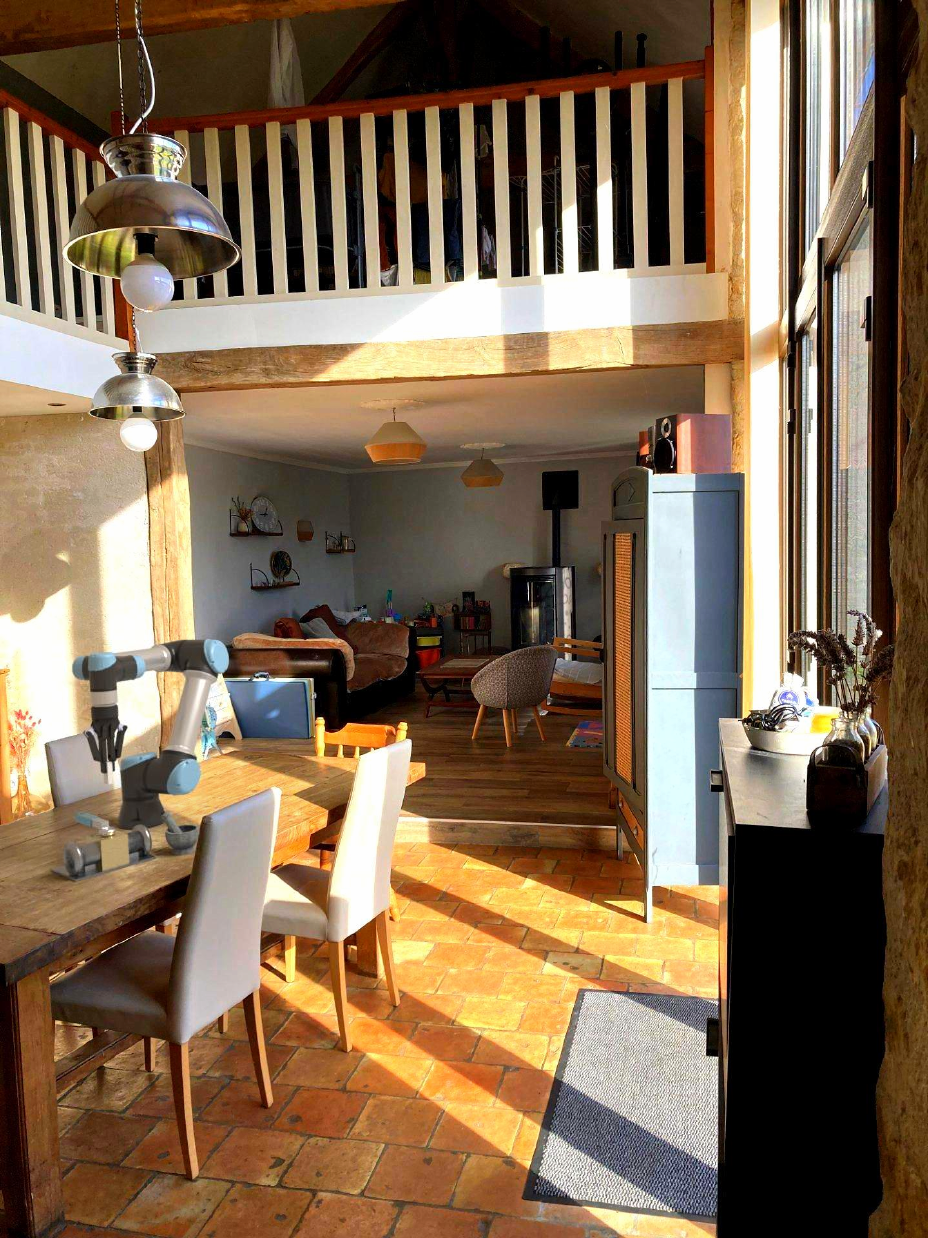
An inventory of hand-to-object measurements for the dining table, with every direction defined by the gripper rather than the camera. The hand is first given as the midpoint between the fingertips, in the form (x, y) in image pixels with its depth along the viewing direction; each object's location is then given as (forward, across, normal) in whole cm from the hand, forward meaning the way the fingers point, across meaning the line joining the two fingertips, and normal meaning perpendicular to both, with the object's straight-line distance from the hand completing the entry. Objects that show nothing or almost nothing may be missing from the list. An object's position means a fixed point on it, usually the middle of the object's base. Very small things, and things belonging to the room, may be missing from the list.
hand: (108, 783), depth 275 cm
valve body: (+21, +7, +8) cm, 24 cm away
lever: (+12, +7, +3) cm, 14 cm away
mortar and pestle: (+21, -13, +16) cm, 30 cm away
